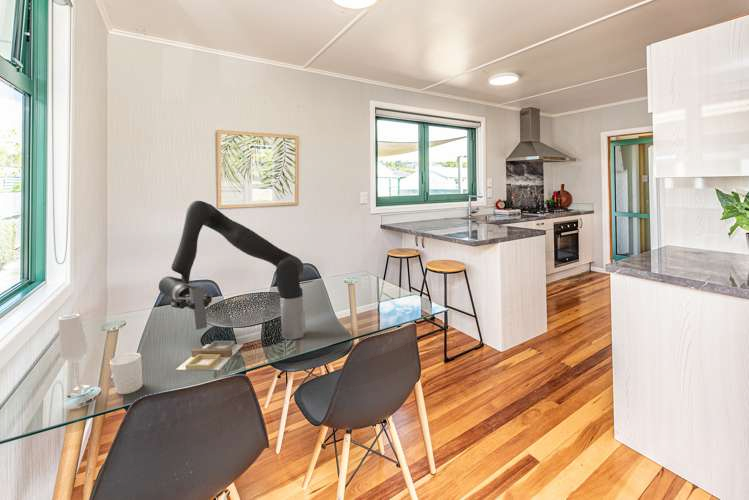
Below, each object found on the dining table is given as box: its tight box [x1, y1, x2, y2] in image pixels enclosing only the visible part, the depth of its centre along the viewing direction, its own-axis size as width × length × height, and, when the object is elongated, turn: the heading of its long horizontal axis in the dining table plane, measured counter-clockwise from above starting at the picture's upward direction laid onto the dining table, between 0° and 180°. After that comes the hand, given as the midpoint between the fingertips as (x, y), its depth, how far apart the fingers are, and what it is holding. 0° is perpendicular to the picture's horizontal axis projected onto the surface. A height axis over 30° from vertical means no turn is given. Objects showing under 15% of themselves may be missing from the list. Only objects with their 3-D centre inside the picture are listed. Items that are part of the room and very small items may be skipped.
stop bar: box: [189, 285, 208, 331], centre depth 121 cm, size 4×4×14 cm
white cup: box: [109, 352, 143, 395], centre depth 110 cm, size 8×8×10 cm
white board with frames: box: [175, 340, 245, 371], centre depth 130 cm, size 20×15×4 cm
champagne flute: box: [58, 313, 90, 390], centre depth 108 cm, size 7×7×24 cm
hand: (200, 305), depth 119 cm, fingers closed on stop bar, 3 cm apart
